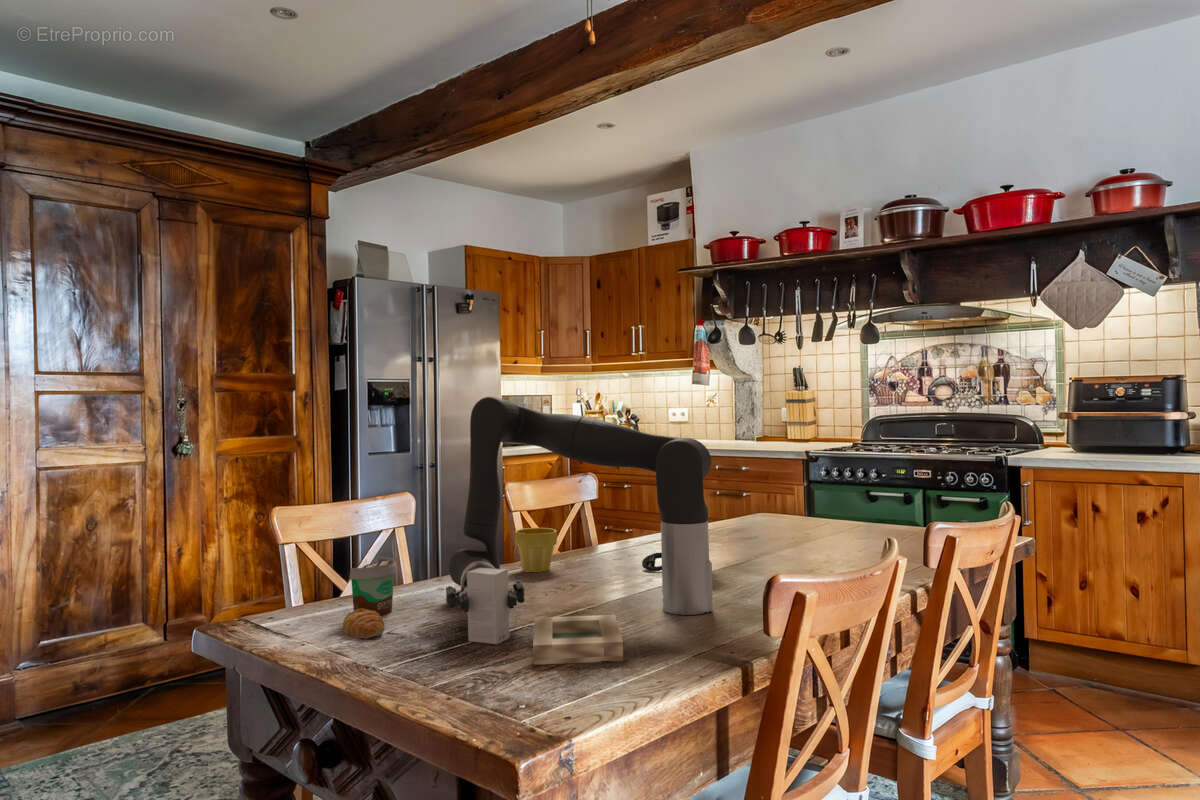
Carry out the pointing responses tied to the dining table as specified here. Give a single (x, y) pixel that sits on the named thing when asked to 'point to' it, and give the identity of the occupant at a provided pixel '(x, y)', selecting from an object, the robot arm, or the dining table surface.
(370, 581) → the food container
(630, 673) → the dining table surface
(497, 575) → the skincare box
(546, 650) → the holder
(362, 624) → the pastry
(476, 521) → the robot arm
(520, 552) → the plant pot
